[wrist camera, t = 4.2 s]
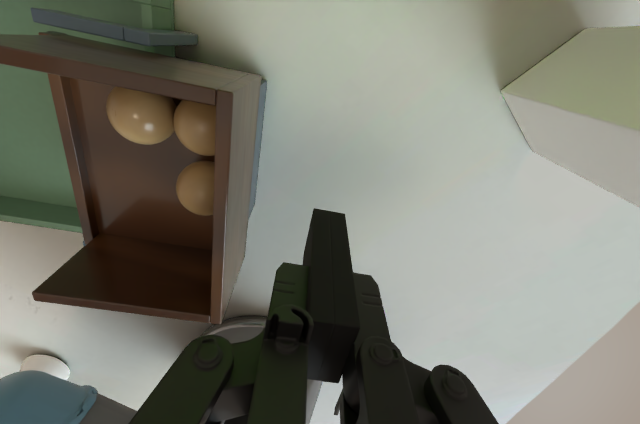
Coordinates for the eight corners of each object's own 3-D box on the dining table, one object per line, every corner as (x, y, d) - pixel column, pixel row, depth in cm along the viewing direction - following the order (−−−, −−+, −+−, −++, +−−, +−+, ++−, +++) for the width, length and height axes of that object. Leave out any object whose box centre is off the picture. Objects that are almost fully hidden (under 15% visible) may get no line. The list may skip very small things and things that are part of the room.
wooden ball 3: (230, 199, 19) (235, 225, 17) (178, 198, 18) (175, 226, 16) (233, 154, 18) (239, 176, 15) (176, 150, 17) (173, 173, 14)
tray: (181, 226, 27) (166, 246, 25) (-27, 193, 26) (-66, 210, 23) (173, -2, 19) (150, -8, 17) (-133, -71, 18) (-212, -90, 15)
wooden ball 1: (166, 132, 17) (188, 151, 16) (104, 134, 15) (120, 156, 14) (164, 75, 16) (187, 89, 14) (93, 69, 14) (111, 85, 12)
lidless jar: (60, 382, 39) (80, 366, 37) (41, 406, 36) (62, 390, 35) (20, 363, 37) (39, 345, 35) (-2, 387, 35) (17, 369, 33)
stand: (252, 222, 27) (234, 270, 21) (135, 202, 26) (83, 248, 21) (270, 50, 21) (251, 54, 15) (114, 16, 20) (29, 6, 14)
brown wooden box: (245, 253, 22) (220, 325, 16) (94, 229, 21) (12, 298, 15) (262, 74, 16) (233, 92, 11) (54, 30, 15) (-99, 25, 10)
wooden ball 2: (233, 145, 18) (239, 167, 15) (176, 141, 16) (172, 163, 14) (236, 91, 16) (244, 105, 14) (174, 82, 15) (169, 95, 13)
